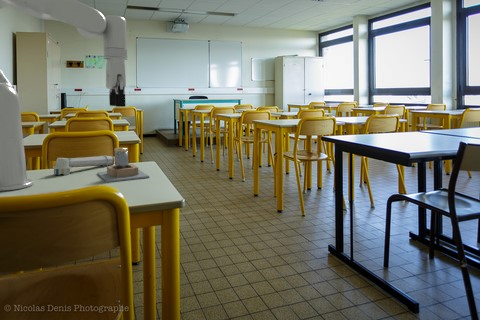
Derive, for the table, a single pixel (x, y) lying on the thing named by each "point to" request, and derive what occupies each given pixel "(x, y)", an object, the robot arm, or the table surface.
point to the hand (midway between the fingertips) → (117, 106)
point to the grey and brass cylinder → (121, 158)
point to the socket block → (122, 174)
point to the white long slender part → (80, 163)
